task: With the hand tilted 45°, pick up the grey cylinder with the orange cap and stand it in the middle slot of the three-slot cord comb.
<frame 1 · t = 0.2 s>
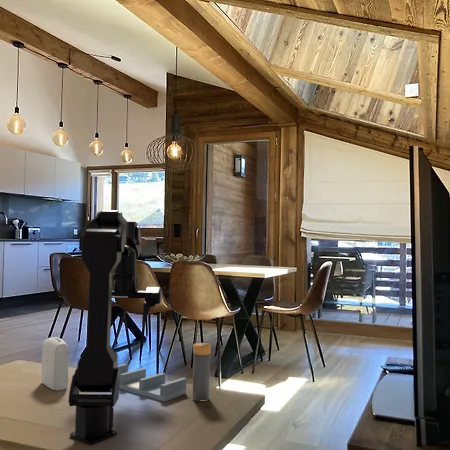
hand: (125, 325, 125), 15 cm above the table, tool pointing down, fingers open, 9 cm apart
grey cylinder: (200, 399, 114), on the table
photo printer: (54, 386, 122), on the table
cord comb: (142, 388, 121), on the table
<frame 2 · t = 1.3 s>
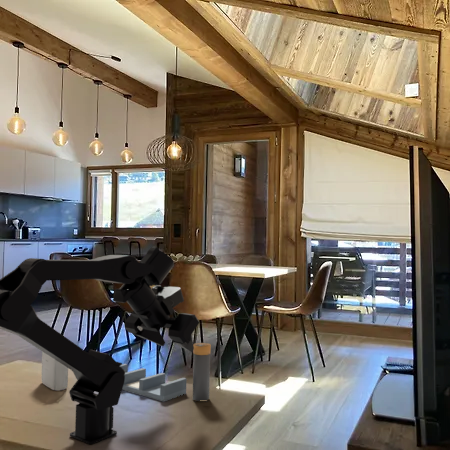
hand: (177, 347, 109), 13 cm above the table, tool tilted 45°, fingers open, 9 cm apart
nothing on the table moved.
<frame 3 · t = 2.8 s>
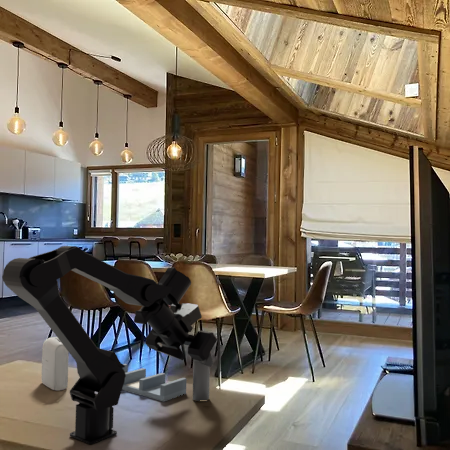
hand: (197, 361, 113), 9 cm above the table, tool tilted 45°, fingers open, 9 cm apart
nothing on the table moved.
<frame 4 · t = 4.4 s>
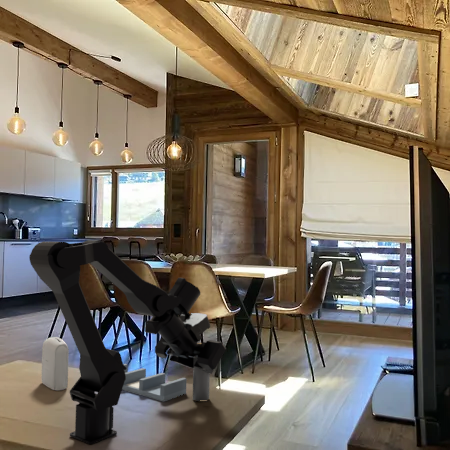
hand: (205, 370, 115), 7 cm above the table, tool tilted 45°, fingers closed on grey cylinder, 4 cm apart
grey cylinder: (200, 399, 114), on the table, touching gripper
everything else where it was.
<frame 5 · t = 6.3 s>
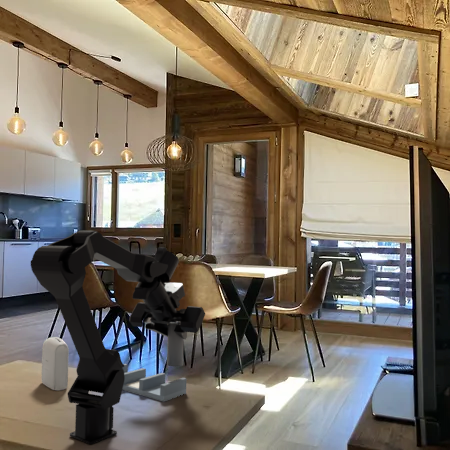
hand: (178, 337, 120), 14 cm above the table, tool tilted 45°, fingers closed on grey cylinder, 4 cm apart
grey cylinder: (174, 364, 119), point 7 cm above the table, touching gripper
everything else where it was.
when the fingers open (9 cm above the table, at t = 8.3 s): grey cylinder drops 1 cm, resting on cord comb.
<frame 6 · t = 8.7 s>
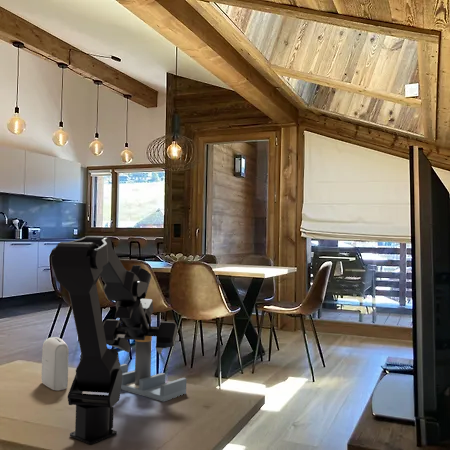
hand: (145, 351, 123), 9 cm above the table, tool tilted 45°, fingers open, 8 cm apart
grey cylinder: (142, 383, 121), point 1 cm above the table, touching cord comb
everything else where it was.
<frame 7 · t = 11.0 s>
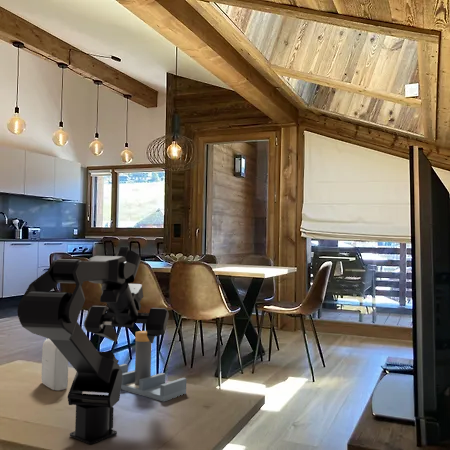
hand: (134, 340, 114), 14 cm above the table, tool tilted 45°, fingers open, 9 cm apart
nothing on the table moved.
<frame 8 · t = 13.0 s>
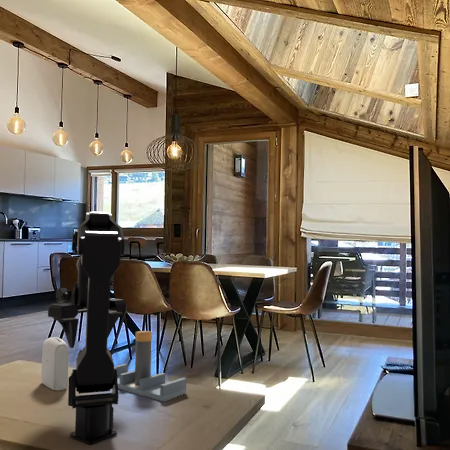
hand: (88, 344, 112), 13 cm above the table, tool pointing down, fingers open, 9 cm apart
nothing on the table moved.
at the end: grey cylinder 0.0 cm off-centre on the cord comb, point 1.3 cm above the cord comb's base; grey cylinder tilted 0°; the gripper is holding nothing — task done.
